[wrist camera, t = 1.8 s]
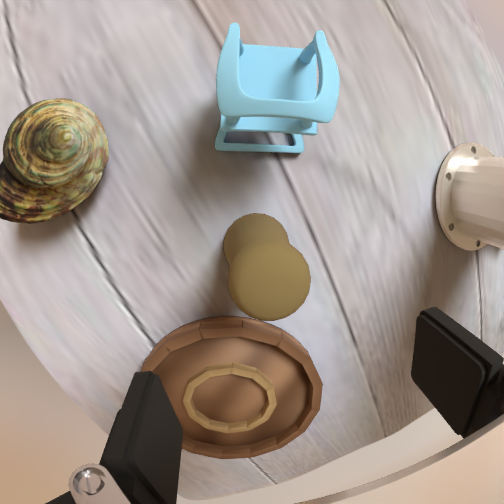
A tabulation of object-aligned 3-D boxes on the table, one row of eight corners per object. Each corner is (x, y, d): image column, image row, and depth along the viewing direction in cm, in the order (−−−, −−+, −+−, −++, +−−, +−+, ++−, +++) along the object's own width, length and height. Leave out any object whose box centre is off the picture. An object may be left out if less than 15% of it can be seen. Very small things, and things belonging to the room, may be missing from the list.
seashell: (31, 116, 23) (-31, 104, 13) (125, 106, 24) (78, 77, 14) (26, 215, 26) (-36, 235, 16) (118, 218, 27) (67, 242, 17)
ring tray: (345, 342, 32) (352, 354, 29) (276, 453, 36) (279, 466, 33) (163, 290, 29) (157, 300, 26) (133, 422, 33) (129, 435, 30)
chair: (302, 69, 24) (347, 11, 13) (301, 154, 26) (353, 140, 15) (218, 65, 24) (212, -3, 12) (215, 151, 26) (204, 132, 14)
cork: (231, 206, 27) (232, 228, 17) (296, 221, 28) (336, 251, 17) (217, 270, 29) (211, 326, 18) (279, 282, 29) (306, 342, 19)
